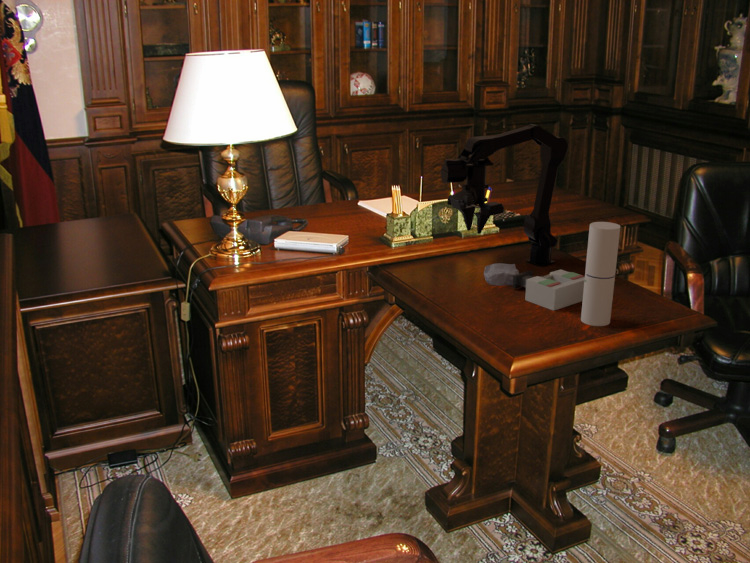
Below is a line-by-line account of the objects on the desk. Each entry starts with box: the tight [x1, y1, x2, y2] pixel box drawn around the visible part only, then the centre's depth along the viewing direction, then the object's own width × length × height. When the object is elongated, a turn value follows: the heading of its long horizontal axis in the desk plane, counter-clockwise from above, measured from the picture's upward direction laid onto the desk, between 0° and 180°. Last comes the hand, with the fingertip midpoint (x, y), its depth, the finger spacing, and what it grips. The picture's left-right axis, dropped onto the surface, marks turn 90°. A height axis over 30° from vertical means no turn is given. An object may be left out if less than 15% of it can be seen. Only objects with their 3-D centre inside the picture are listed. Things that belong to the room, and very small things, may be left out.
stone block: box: [483, 262, 520, 287], centre depth 217 cm, size 12×5×10 cm
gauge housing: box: [524, 269, 585, 312], centre depth 200 cm, size 14×10×6 cm
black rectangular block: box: [512, 270, 552, 290], centre depth 206 cm, size 7×9×5 cm
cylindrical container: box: [580, 221, 621, 327], centre depth 183 cm, size 7×7×25 cm
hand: (473, 231), depth 222 cm, fingers open, 4 cm apart
